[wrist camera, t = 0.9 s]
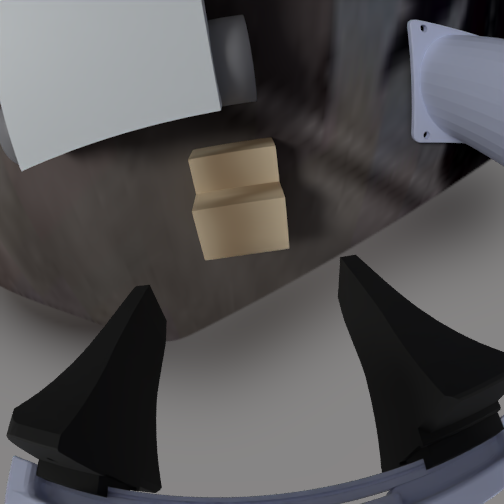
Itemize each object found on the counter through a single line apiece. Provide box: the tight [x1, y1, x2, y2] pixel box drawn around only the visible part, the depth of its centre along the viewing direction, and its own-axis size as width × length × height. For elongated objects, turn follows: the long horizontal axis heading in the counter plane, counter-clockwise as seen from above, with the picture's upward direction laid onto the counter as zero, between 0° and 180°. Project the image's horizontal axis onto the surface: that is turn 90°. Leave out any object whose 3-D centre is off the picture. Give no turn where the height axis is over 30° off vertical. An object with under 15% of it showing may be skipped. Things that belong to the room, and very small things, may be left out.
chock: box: [188, 137, 289, 260], centre depth 16 cm, size 4×5×4 cm
